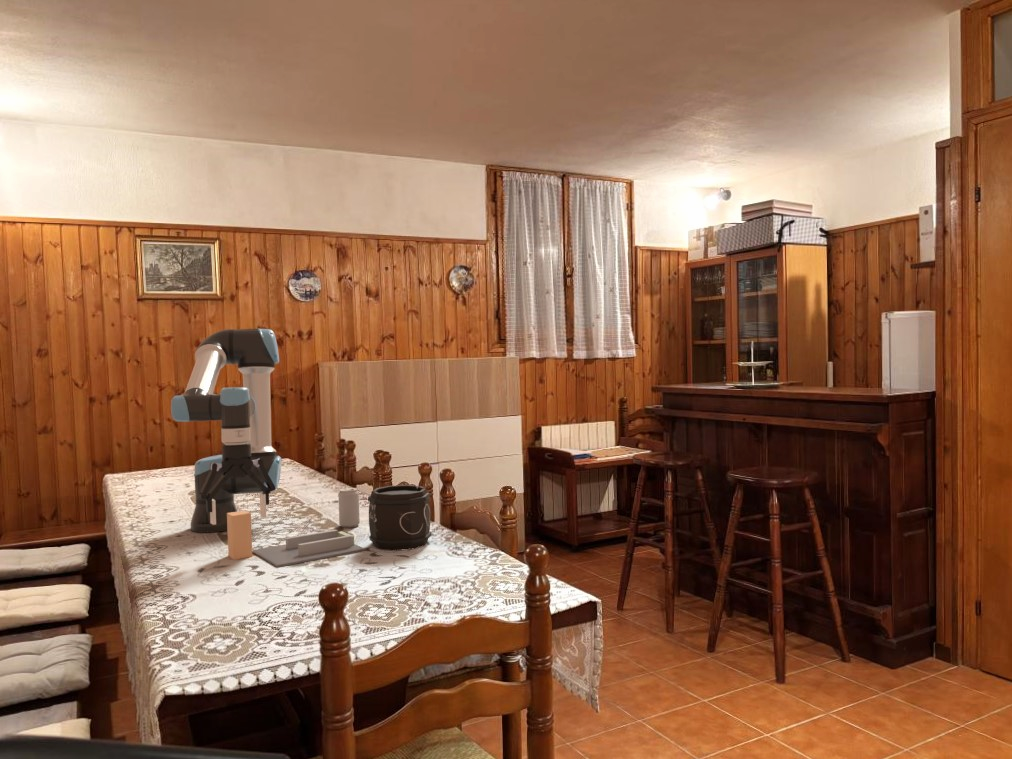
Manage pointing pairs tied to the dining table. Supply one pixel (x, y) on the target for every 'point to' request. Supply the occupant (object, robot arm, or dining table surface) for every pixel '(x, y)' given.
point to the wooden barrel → (399, 517)
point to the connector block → (239, 534)
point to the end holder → (310, 548)
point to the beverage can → (349, 507)
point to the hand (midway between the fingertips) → (238, 520)
